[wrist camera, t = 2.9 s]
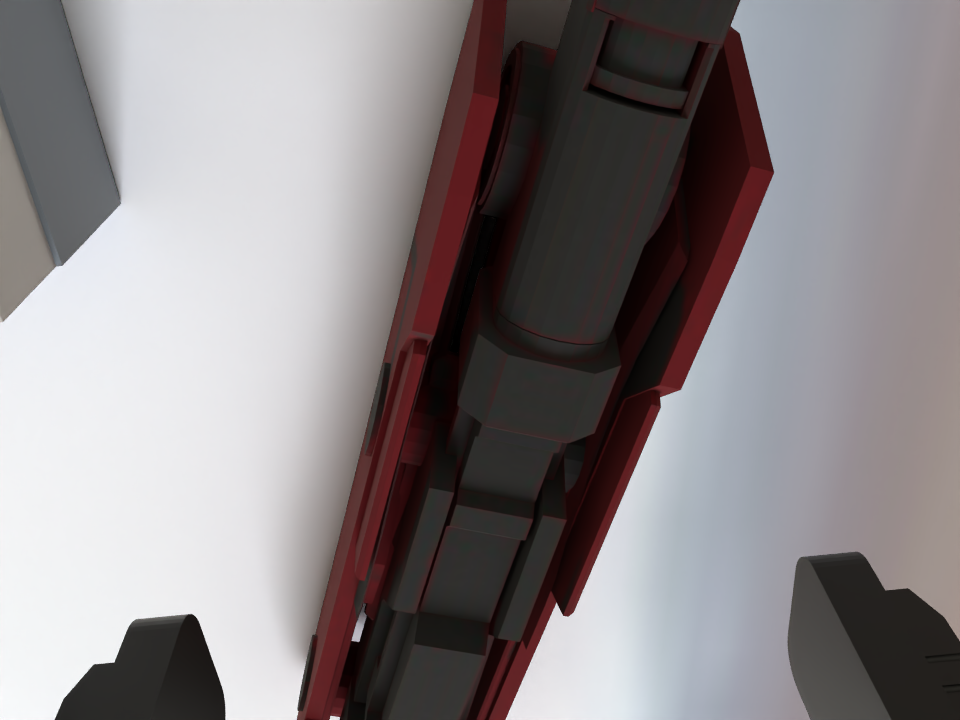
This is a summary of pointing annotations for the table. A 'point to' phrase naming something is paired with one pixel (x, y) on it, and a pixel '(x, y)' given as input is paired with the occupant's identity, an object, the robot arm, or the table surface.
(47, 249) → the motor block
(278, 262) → the table surface
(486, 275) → the mechanical component
